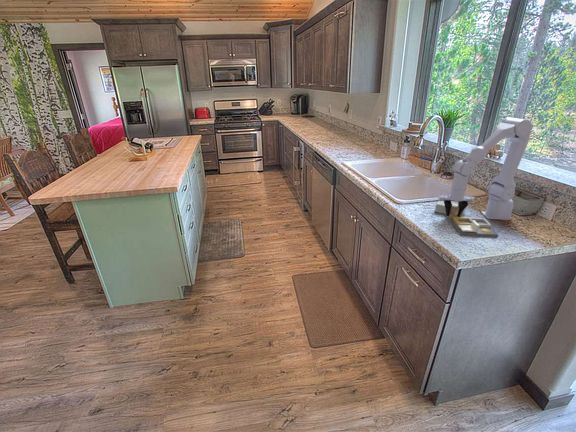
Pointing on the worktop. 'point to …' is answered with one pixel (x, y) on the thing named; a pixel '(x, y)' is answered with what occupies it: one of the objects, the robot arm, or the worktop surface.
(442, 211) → the skincare box
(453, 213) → the beige small block
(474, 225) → the cover
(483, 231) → the board
